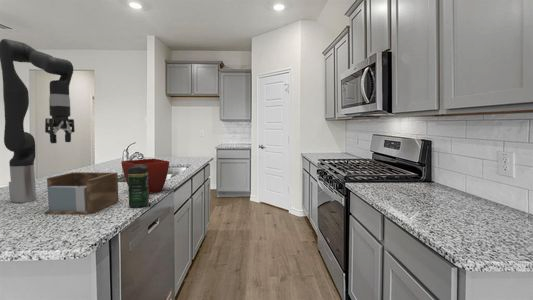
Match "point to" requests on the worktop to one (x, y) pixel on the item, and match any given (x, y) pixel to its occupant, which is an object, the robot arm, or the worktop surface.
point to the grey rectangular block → (68, 198)
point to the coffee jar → (138, 186)
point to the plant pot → (150, 172)
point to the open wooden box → (89, 189)
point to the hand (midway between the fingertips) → (60, 142)
